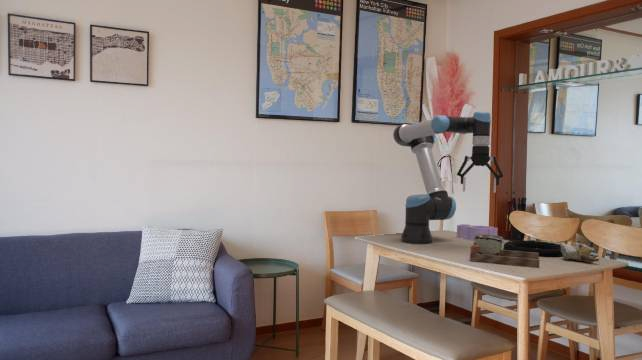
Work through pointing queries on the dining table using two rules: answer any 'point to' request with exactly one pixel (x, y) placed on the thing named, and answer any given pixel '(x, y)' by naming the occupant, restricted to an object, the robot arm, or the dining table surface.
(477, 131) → the robot arm
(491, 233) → the purple block
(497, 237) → the food container
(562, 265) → the dining table surface
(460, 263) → the dining table surface
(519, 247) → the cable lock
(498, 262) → the brown wooden tray
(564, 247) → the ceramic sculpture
